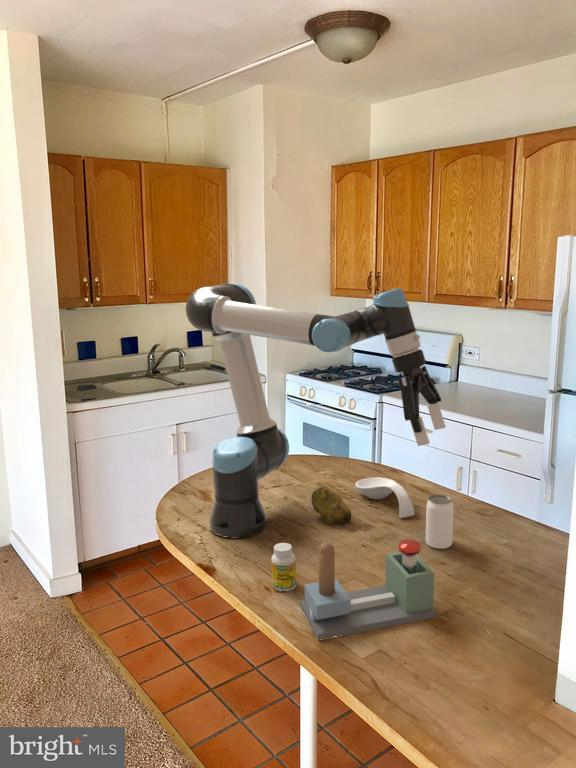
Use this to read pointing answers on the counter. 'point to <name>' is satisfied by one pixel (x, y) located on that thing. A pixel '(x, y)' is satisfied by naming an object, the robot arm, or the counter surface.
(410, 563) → the button
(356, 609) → the track
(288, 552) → the supplement bottle
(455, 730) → the counter surface
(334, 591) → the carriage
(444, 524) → the can
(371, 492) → the spoon rest
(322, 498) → the potato
